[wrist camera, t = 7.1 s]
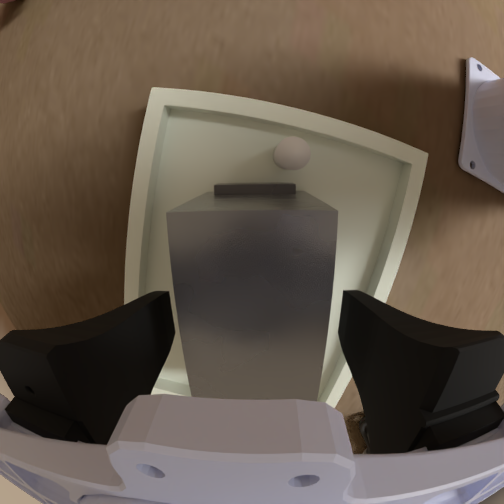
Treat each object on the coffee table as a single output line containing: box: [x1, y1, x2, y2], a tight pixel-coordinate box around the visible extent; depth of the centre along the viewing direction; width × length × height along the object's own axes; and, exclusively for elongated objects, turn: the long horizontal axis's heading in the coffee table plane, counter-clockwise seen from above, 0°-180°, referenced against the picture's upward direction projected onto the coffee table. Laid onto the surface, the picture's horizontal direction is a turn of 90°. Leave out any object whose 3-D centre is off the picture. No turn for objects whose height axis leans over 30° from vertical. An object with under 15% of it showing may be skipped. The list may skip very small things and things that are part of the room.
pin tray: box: [124, 87, 428, 408], centre depth 13 cm, size 13×17×4 cm
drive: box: [166, 182, 338, 401], centre depth 11 cm, size 4×9×6 cm, turn 1°
